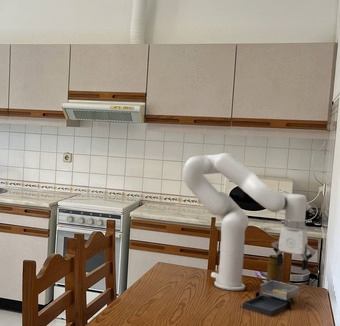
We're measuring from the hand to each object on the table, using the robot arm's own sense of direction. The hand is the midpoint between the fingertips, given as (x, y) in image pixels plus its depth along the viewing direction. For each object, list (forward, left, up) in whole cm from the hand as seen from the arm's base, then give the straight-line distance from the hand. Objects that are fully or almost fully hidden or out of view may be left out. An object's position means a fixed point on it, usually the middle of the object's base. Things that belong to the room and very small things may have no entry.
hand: (291, 267), depth 199 cm
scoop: (0, -6, -10) cm, 12 cm away
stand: (0, -10, -12) cm, 16 cm away
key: (0, -9, -9) cm, 13 cm away
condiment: (-12, +14, -13) cm, 23 cm away
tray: (0, -21, -12) cm, 24 cm away
